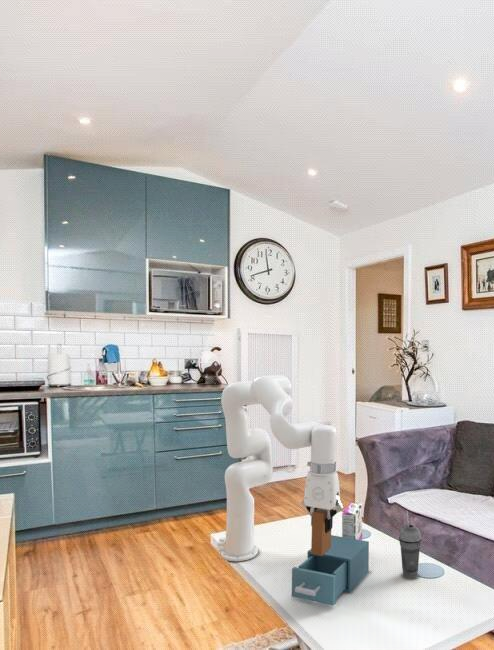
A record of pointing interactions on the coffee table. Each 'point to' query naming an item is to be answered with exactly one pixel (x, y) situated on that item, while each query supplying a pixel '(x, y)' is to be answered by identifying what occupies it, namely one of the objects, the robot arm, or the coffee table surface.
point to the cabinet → (350, 557)
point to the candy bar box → (352, 521)
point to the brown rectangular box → (320, 533)
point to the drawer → (320, 579)
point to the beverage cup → (410, 550)
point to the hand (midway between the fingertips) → (321, 529)
